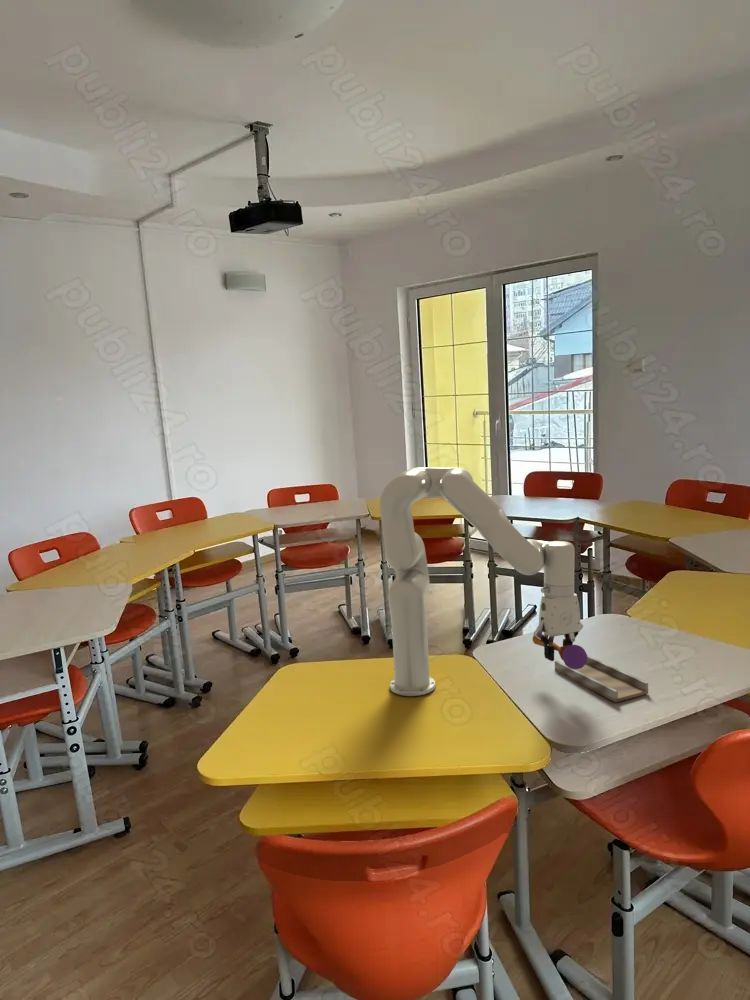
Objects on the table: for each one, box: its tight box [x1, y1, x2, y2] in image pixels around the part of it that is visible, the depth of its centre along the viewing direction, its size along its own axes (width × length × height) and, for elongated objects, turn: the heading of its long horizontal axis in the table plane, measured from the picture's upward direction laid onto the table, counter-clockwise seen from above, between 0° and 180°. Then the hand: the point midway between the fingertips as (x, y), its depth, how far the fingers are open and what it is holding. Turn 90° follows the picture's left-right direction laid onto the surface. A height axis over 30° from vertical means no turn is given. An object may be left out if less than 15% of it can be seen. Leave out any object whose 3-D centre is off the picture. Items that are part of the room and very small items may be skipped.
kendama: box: [532, 633, 588, 669], centre depth 174 cm, size 6×6×20 cm
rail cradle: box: [554, 654, 649, 703], centre depth 179 cm, size 24×11×3 cm, turn 22°
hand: (558, 656), depth 174 cm, fingers closed on kendama, 5 cm apart
